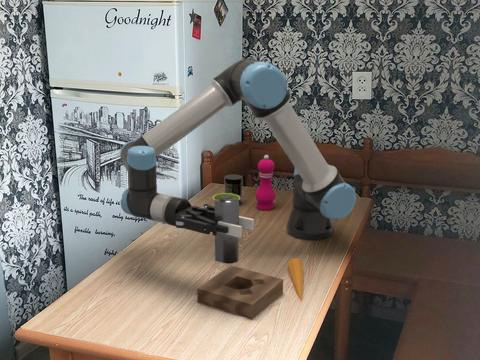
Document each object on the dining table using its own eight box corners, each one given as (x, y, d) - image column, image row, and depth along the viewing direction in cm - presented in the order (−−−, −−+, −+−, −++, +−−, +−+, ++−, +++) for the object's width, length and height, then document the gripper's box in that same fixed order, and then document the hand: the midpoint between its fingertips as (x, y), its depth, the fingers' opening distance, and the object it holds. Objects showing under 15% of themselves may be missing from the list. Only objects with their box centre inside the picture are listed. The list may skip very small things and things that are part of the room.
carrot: (290, 271, 171) (284, 258, 169) (304, 266, 170) (299, 253, 169) (296, 312, 152) (290, 298, 151) (312, 306, 152) (306, 292, 150)
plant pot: (234, 215, 212) (234, 191, 209) (243, 224, 204) (244, 200, 201) (209, 218, 209) (209, 194, 206) (217, 227, 200) (217, 203, 198)
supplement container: (239, 207, 220) (239, 180, 217) (222, 205, 222) (222, 178, 219) (244, 201, 226) (244, 175, 223) (227, 200, 228) (227, 173, 225)
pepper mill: (273, 211, 216) (274, 158, 210) (253, 210, 217) (254, 156, 211) (276, 205, 223) (277, 153, 217) (257, 203, 224) (258, 152, 218)
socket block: (197, 302, 151) (197, 288, 150) (230, 278, 164) (231, 265, 163) (252, 319, 143) (252, 304, 142) (282, 293, 156) (283, 279, 155)
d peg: (215, 260, 151) (214, 200, 146) (225, 253, 155) (225, 195, 150) (231, 265, 148) (231, 204, 144) (242, 258, 152) (242, 198, 148)
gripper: (192, 214, 166) (265, 231, 155) (150, 234, 152) (227, 255, 140) (191, 188, 164) (265, 203, 152) (149, 206, 149) (227, 225, 138)
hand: (246, 228), depth 146 cm, fingers closed on d peg, 5 cm apart
